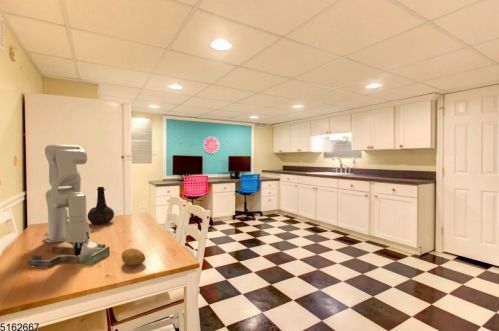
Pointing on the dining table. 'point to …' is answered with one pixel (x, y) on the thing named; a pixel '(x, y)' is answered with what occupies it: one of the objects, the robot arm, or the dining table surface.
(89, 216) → the glass bottle
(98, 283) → the dining table surface
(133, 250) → the potato
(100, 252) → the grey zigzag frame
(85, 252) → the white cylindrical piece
